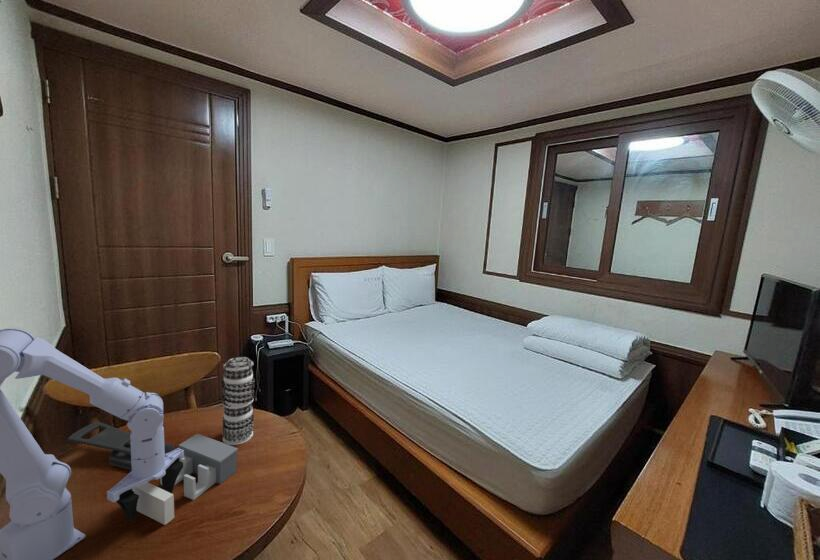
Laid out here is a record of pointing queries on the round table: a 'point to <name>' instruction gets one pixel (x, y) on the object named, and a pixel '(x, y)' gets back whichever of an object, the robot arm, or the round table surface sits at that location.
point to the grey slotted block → (205, 464)
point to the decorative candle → (238, 400)
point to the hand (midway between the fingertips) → (150, 505)
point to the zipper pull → (111, 443)
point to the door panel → (155, 502)
